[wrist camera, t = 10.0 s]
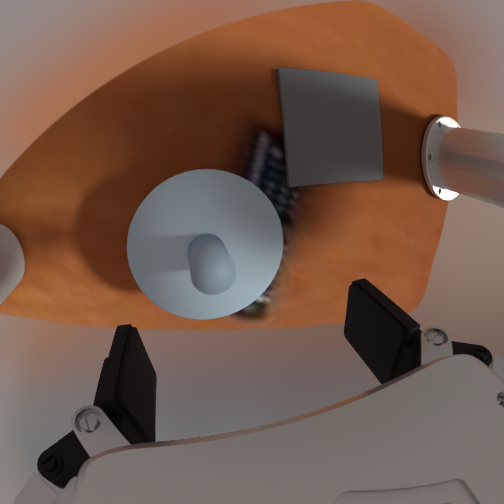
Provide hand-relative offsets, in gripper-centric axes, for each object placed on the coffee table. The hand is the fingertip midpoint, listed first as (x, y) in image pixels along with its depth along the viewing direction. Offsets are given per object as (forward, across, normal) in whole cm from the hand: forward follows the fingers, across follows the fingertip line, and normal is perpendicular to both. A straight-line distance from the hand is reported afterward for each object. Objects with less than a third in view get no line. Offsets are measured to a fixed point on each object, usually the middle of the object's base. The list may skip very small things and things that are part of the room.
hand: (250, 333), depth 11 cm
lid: (+11, +1, 0) cm, 11 cm away
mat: (+17, -14, -9) cm, 23 cm away
